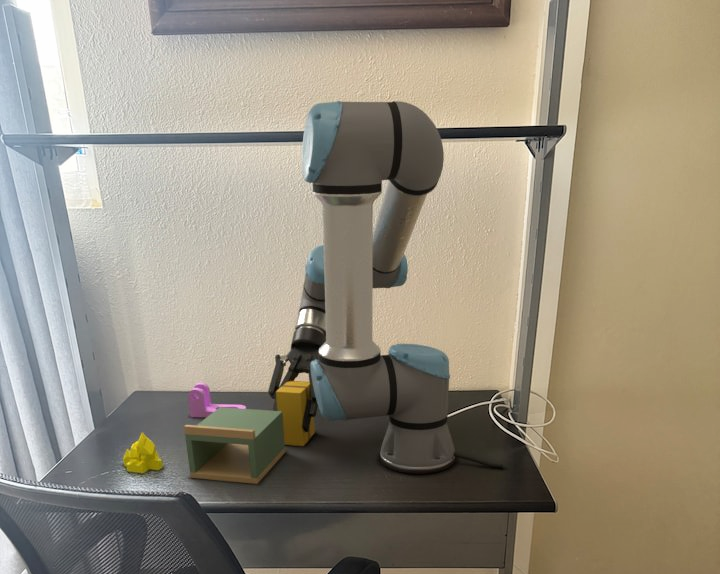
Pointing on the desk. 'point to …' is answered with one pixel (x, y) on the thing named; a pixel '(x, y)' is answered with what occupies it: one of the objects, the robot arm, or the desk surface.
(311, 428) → the package
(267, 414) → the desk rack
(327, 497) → the desk surface
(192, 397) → the bracket
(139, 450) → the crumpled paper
